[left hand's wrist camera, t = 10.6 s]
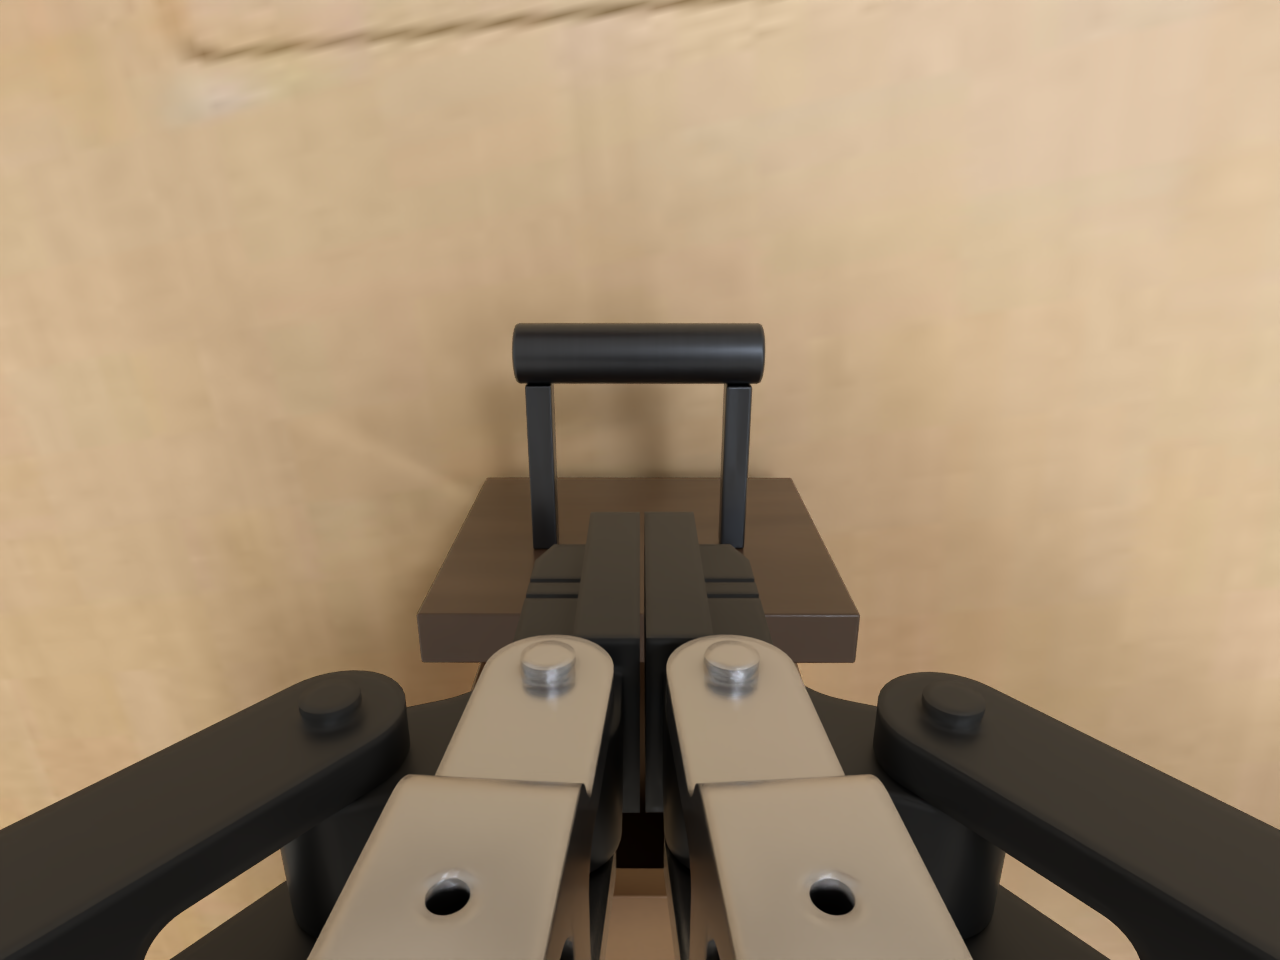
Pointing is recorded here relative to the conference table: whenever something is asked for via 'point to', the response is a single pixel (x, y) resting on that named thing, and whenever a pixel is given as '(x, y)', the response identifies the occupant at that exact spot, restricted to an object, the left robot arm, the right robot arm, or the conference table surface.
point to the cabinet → (639, 917)
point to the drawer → (560, 511)
